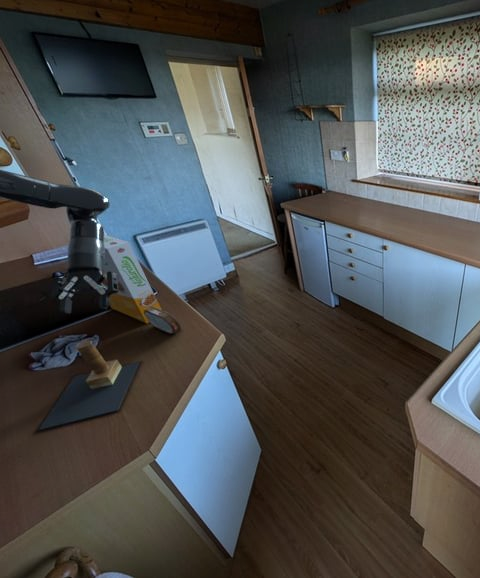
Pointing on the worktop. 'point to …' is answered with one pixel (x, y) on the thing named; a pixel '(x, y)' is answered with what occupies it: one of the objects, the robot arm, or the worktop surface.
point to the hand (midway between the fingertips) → (85, 310)
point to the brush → (98, 366)
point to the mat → (89, 399)
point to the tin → (162, 320)
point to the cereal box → (128, 280)
